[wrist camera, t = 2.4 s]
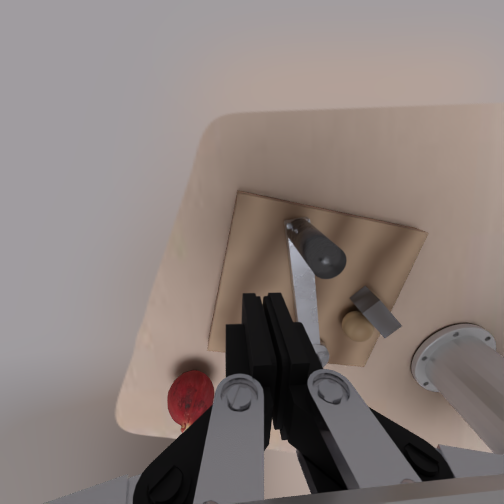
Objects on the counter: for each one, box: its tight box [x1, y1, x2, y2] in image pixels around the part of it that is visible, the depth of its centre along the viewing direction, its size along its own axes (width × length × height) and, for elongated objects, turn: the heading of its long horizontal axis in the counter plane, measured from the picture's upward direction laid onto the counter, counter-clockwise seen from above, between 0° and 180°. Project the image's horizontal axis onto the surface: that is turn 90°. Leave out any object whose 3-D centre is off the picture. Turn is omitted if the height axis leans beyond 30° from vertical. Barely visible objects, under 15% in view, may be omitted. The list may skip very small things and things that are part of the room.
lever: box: [284, 216, 347, 367], centre depth 26 cm, size 20×4×9 cm, turn 9°
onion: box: [168, 370, 214, 432], centre depth 32 cm, size 6×6×8 cm
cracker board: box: [207, 191, 428, 367], centre depth 29 cm, size 22×20×6 cm
